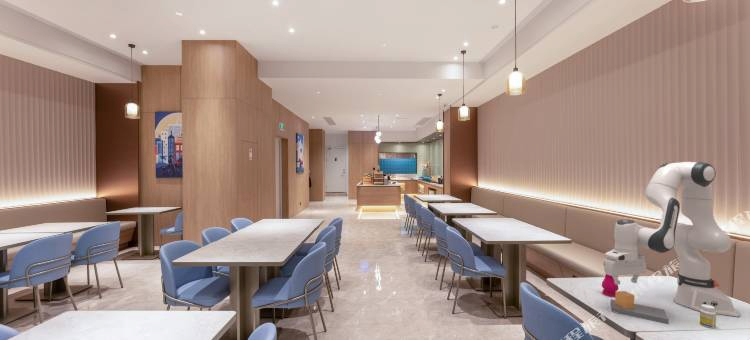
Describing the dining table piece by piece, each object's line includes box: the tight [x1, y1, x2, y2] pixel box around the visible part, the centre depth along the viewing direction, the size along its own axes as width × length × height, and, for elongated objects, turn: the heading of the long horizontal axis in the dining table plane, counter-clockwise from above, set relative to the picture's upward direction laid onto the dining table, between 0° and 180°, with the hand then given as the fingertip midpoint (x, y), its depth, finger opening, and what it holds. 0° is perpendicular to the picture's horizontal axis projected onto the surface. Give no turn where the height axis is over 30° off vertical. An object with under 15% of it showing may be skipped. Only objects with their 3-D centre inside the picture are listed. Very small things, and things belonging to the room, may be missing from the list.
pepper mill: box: [601, 261, 619, 298], centre depth 172 cm, size 7×7×20 cm
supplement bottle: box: [699, 304, 717, 329], centre depth 139 cm, size 5×5×8 cm
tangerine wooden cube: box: [614, 290, 635, 308], centre depth 153 cm, size 5×5×6 cm
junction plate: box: [610, 298, 670, 325], centre depth 151 cm, size 20×12×7 cm, turn 55°
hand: (625, 283), depth 153 cm, fingers open, 8 cm apart
